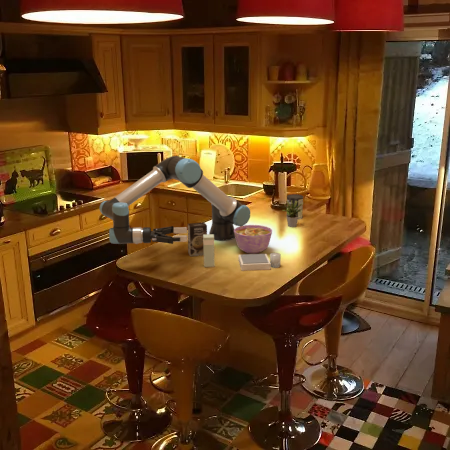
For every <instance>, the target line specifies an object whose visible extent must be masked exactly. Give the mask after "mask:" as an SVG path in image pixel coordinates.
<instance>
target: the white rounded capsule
mask: <svg viewBox="0 0 450 450" xmlns="http://www.w3.org/2000/svg"><path fill="white" fill-rule="evenodd" d="M269 257H270V258H269V261H270V263H271V268H273V269H279V268H280V267H281V262H282V261H281V257H282V256H281V253H279V252H272V253H271V252H270V254H269Z"/></svg>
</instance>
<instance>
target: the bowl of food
mask: <svg viewBox="0 0 450 450" xmlns="http://www.w3.org/2000/svg"><path fill="white" fill-rule="evenodd" d="M234 234H235V238H234V239H235V241H236V244H237V247H238V248H239V249H240V250H241V251H243V252H245V253H246V254H261V252H263V251H265V250H266V249H268V246H270V245H269V244H270V241H271V238H272V234H273V229H272V228H271V227H268V226H265V225H258V224H249V225H248V224H245V225H243V226H236V228H235V227H234Z"/></svg>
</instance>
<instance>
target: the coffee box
mask: <svg viewBox="0 0 450 450" xmlns="http://www.w3.org/2000/svg"><path fill="white" fill-rule="evenodd" d="M207 234H208V225H207V224H206V223H205V222H195V223H194V222H191V223H187V251H188V252H187V253H188V255H189V256H190V257H199V255H200V256H204V247H203V235H207Z"/></svg>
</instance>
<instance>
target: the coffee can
mask: <svg viewBox="0 0 450 450" xmlns="http://www.w3.org/2000/svg"><path fill="white" fill-rule="evenodd" d="M291 200H292V203H293V206H294V204H295V201H296V202H297V201H298V202H297V205H296V207H297V206H299V205H300V204H301V206H300V207H299V208H298V209H300V210H301V212H302V213H301V212H297V213H298V214H297V213H296V214H297V216H298V220H302V219H303V206H304V196H303V195H302V194H296V193H295V194H294V193H293V194H288V195H287V196H286V201H287V202H288V203H289V204H290V207H291V204H292V203H291ZM287 202H286V206H288V204H287ZM302 203H303V204H302ZM295 209H296V208H295ZM287 210H288V208H287V207H286V216H287V215H289V213H288V212H287Z"/></svg>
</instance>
